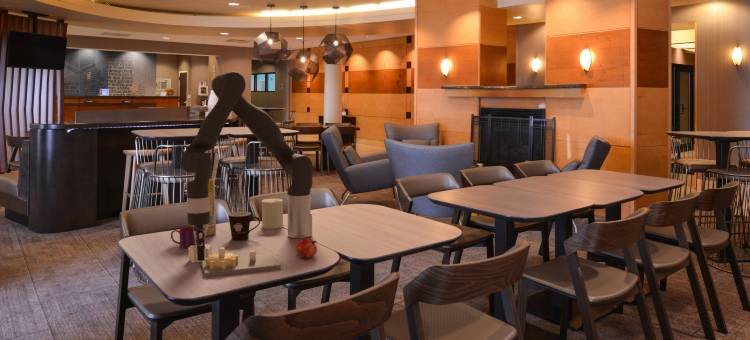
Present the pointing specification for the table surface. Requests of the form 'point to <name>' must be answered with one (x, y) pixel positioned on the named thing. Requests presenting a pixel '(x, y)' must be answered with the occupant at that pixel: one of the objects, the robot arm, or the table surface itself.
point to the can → (272, 213)
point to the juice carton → (211, 210)
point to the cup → (185, 237)
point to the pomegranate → (306, 248)
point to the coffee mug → (240, 225)
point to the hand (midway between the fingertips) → (200, 257)
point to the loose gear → (193, 252)
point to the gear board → (238, 263)
